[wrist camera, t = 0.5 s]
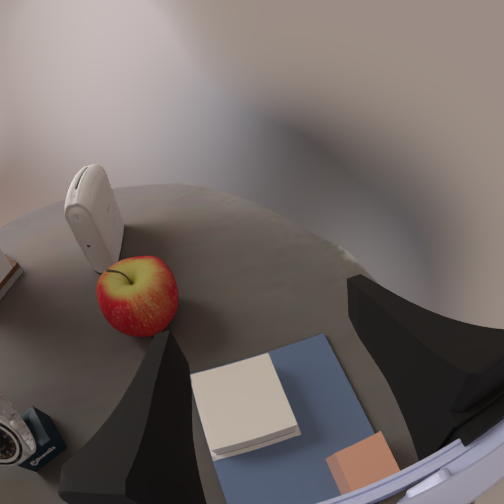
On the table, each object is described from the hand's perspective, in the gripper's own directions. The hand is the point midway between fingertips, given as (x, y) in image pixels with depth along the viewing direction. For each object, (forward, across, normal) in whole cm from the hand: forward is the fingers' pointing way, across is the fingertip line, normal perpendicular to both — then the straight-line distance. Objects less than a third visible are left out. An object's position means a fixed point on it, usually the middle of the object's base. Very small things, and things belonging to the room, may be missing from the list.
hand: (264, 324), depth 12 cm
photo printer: (+31, +18, +7) cm, 37 cm away
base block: (+6, +4, +16) cm, 17 cm away
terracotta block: (-1, -4, +19) cm, 19 cm away
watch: (+4, +26, +14) cm, 30 cm away
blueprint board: (+3, 0, +18) cm, 18 cm away
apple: (+18, +12, +12) cm, 25 cm away
